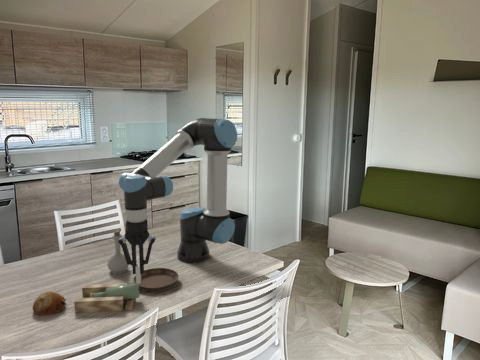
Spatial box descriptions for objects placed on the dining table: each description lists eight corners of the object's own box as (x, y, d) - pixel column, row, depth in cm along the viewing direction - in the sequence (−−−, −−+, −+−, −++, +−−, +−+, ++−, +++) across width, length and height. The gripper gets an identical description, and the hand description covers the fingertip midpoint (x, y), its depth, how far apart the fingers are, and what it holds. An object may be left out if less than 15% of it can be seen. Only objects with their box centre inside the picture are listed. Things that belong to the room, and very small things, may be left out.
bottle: (138, 281, 150) (91, 287, 148) (136, 288, 146) (88, 294, 144) (139, 293, 152) (93, 299, 150) (138, 300, 147) (90, 306, 145)
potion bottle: (123, 275, 171) (121, 234, 167) (104, 273, 172) (101, 233, 169) (133, 267, 179) (131, 228, 175) (114, 265, 181) (112, 226, 177)
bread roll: (46, 311, 149) (35, 293, 147) (72, 299, 149) (61, 281, 147) (35, 326, 139) (23, 306, 137) (63, 313, 139) (51, 294, 137)
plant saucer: (157, 298, 152) (157, 291, 152) (124, 286, 161) (123, 279, 161) (187, 281, 167) (187, 274, 166) (155, 271, 176) (155, 264, 175)
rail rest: (136, 292, 156) (135, 282, 155) (131, 309, 143) (130, 299, 142) (84, 294, 154) (83, 284, 153) (75, 312, 141) (74, 301, 140)
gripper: (156, 216, 148) (157, 276, 153) (119, 216, 147) (122, 278, 151) (154, 222, 141) (156, 285, 145) (115, 223, 139) (118, 287, 144)
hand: (138, 281), depth 148 cm, fingers closed
